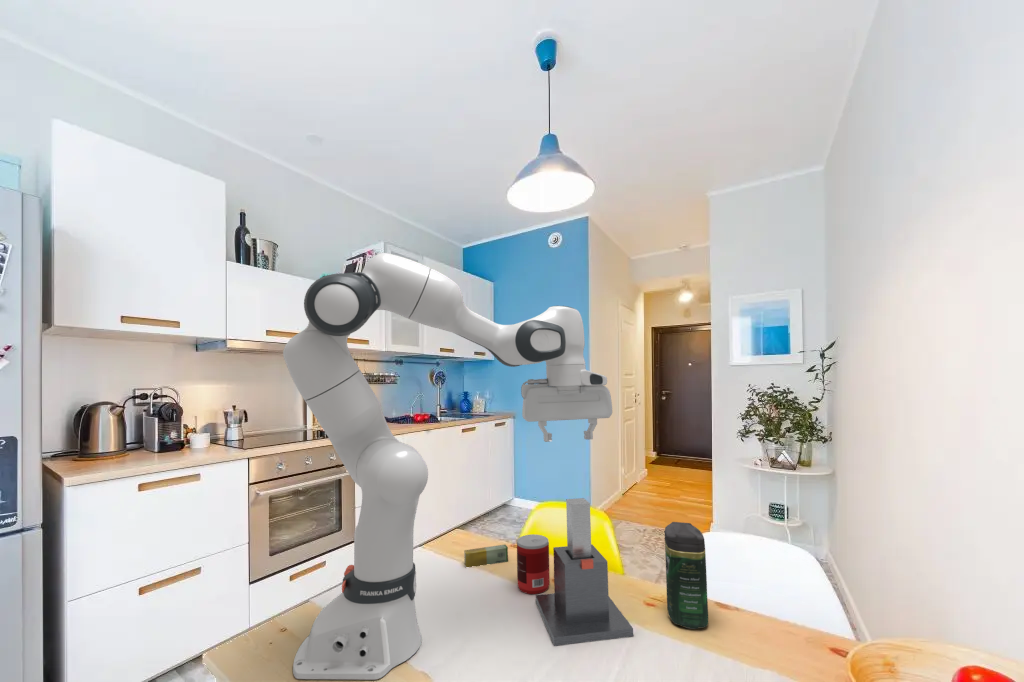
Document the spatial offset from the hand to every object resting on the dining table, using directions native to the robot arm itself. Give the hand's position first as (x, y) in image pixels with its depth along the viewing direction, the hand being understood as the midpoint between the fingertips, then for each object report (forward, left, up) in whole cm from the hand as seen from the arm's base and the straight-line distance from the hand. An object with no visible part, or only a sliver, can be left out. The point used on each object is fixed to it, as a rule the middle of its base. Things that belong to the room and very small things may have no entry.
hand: (568, 440), depth 95 cm
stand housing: (+1, -2, -37) cm, 37 cm away
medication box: (-16, +28, -37) cm, 49 cm away
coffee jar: (+23, -6, -37) cm, 44 cm away
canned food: (-6, +13, -37) cm, 39 cm away
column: (+1, -2, -35) cm, 35 cm away
